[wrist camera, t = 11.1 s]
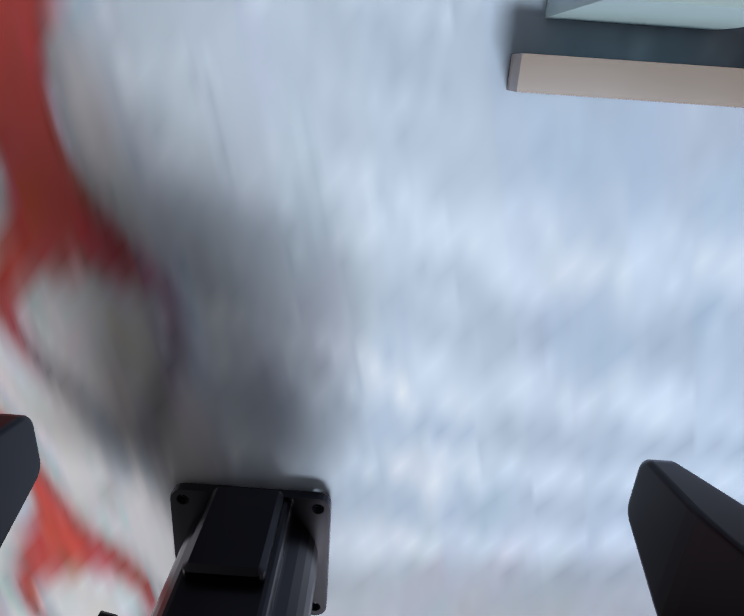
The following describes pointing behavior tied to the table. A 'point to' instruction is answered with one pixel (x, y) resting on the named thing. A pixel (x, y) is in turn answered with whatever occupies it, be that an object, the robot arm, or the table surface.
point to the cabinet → (652, 12)
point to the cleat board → (626, 80)
